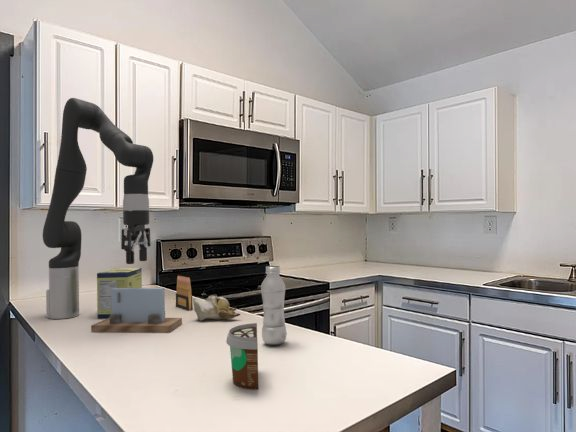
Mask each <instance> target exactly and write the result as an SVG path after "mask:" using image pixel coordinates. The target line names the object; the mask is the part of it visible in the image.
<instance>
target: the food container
mask: <svg viewBox="0 0 576 432" xmlns="http://www.w3.org/2000/svg"><path fill="white" fill-rule="evenodd" d="M258 342H259V341H258V324H257V322H252V323H244V324H238V325H236V326H234V327H231V328H230V329H229V330H228V333H227V336H226V344H227V346H229V349H230V350H229V352H230V362H231V373H232V383H233V385H235V386H236V387H238V388H239V389H240V388H241V389H244V390H259V357H258V356H259V354H258V353H259V350H258V347H259V346H258V345H259V343H258Z"/></svg>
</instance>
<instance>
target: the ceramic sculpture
mask: <svg viewBox="0 0 576 432" xmlns="http://www.w3.org/2000/svg"><path fill="white" fill-rule="evenodd" d="M192 304H193V310H194V312H195V314H196V318H197V319H198V320H199V321H204V320H206V319H212V320H215V321H216V320H219V321H220V320H223V319H226V320H230V319H234V318H236V317H239V316H241V313H240V312H235V311H237V310H238V308H237V307H230V302H229V300H228V299H226V298H225V297H221V296H220V297H218V295H217V294H216V293H214V294H211V295H209V296H208V297H207V298H206V299H205V300H204V299H203V300H202V299H197V298H192Z"/></svg>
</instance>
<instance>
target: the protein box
mask: <svg viewBox="0 0 576 432" xmlns="http://www.w3.org/2000/svg"><path fill="white" fill-rule="evenodd" d="M142 273H143V272H142V267H123V268H120V267H119V268H118V267H117V268H116V267H115V268H112V269H108V270H103V271H100V272H97V273H96V288H97V289H96V293H97V295H96V297H97V298H96V302H97V303H96V305H97V306H96V307H97V308H96V309H97V311H96V312H97V319H101V320H105V319H107V318H110V315H111V314H112V310H111V289H114V288H143V287H142V285H143V282H142V278H143V276H142V275H143V274H142Z"/></svg>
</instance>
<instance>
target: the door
mask: <svg viewBox="0 0 576 432" xmlns="http://www.w3.org/2000/svg"><path fill="white" fill-rule="evenodd" d="M165 293H166V292H165V287H142V288H114V289H111V310H112V314H121V322H148V315H150V314H157V315H159V322H164V321H165V318H166V308H165V307H166V305H165V304H166V301H165V298H166V297H165Z"/></svg>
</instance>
